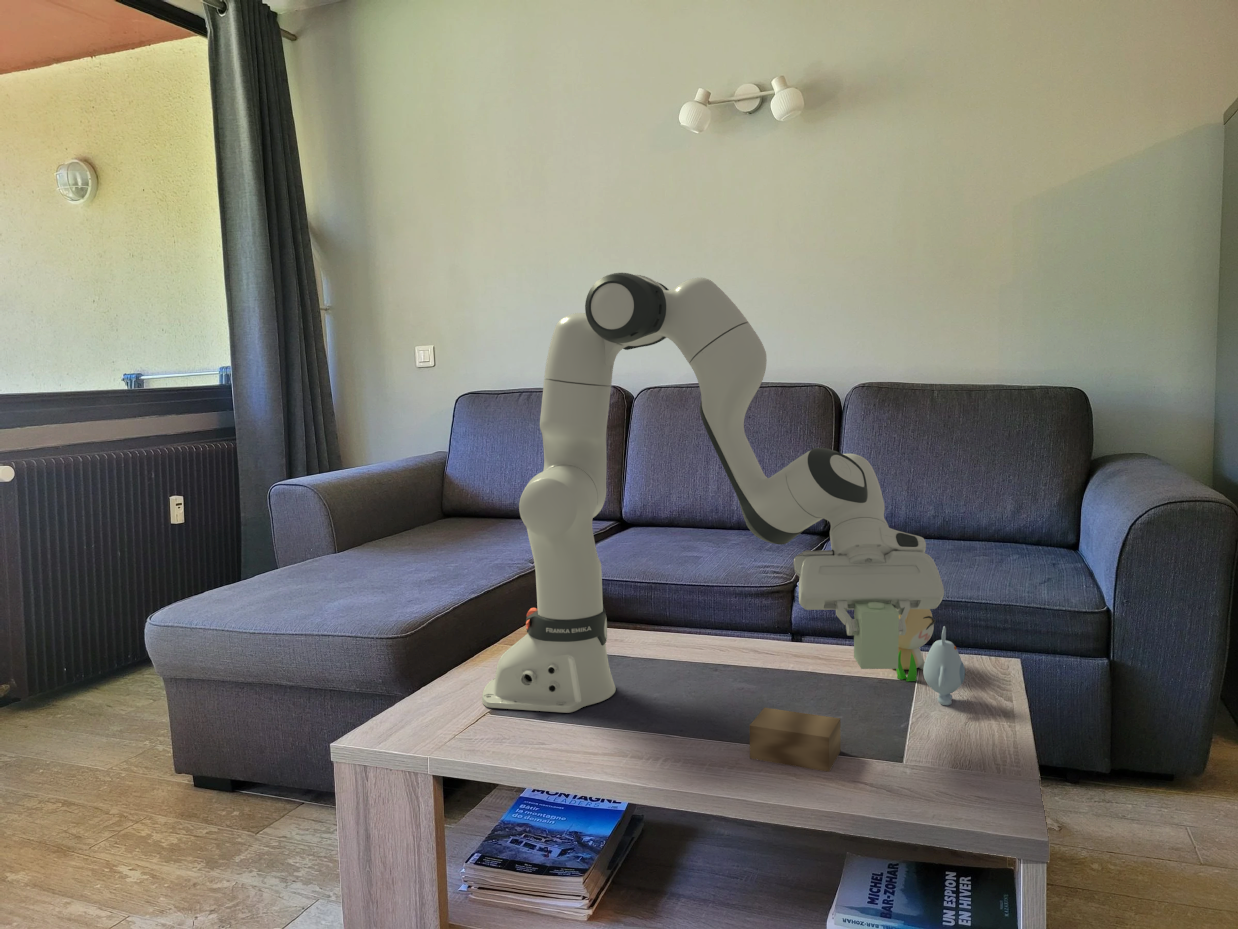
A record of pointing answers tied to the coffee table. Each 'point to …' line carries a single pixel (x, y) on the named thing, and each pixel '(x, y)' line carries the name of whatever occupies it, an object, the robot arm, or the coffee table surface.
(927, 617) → the kitten
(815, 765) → the base brick
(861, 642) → the green brick
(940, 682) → the toy figure
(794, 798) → the coffee table surface
